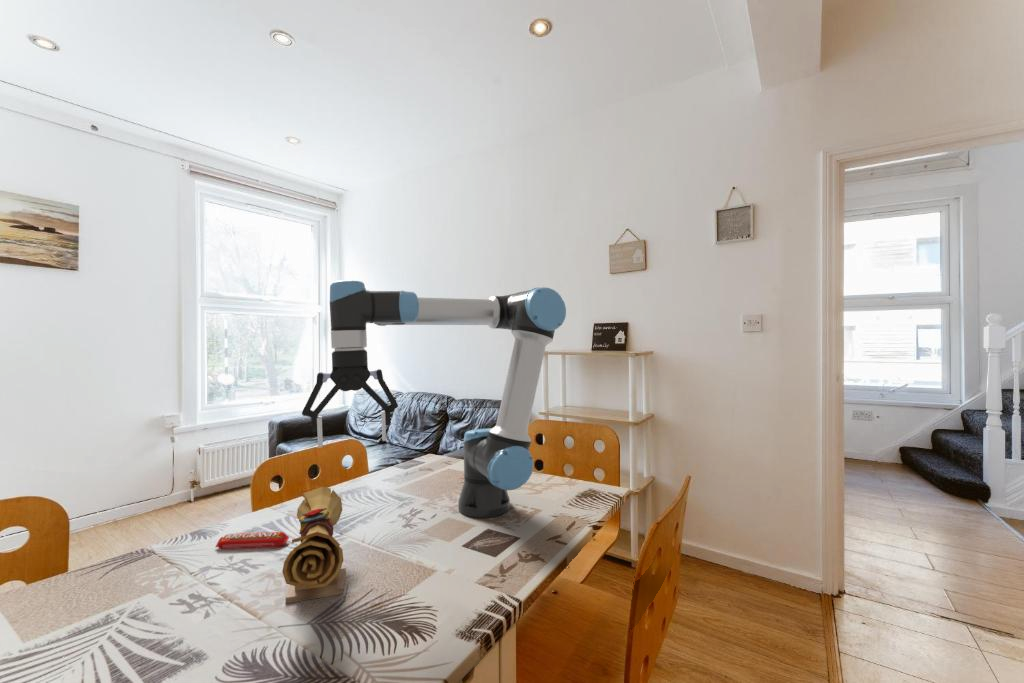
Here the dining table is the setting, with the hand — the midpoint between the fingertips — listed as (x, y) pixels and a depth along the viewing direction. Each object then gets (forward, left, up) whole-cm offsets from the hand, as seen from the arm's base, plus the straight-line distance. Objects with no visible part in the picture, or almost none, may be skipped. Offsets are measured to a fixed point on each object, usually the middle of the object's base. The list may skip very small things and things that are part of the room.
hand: (353, 443), depth 98 cm
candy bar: (+23, -13, -26) cm, 38 cm away
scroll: (+6, +11, -20) cm, 24 cm away
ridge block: (+6, +11, -26) cm, 29 cm away
